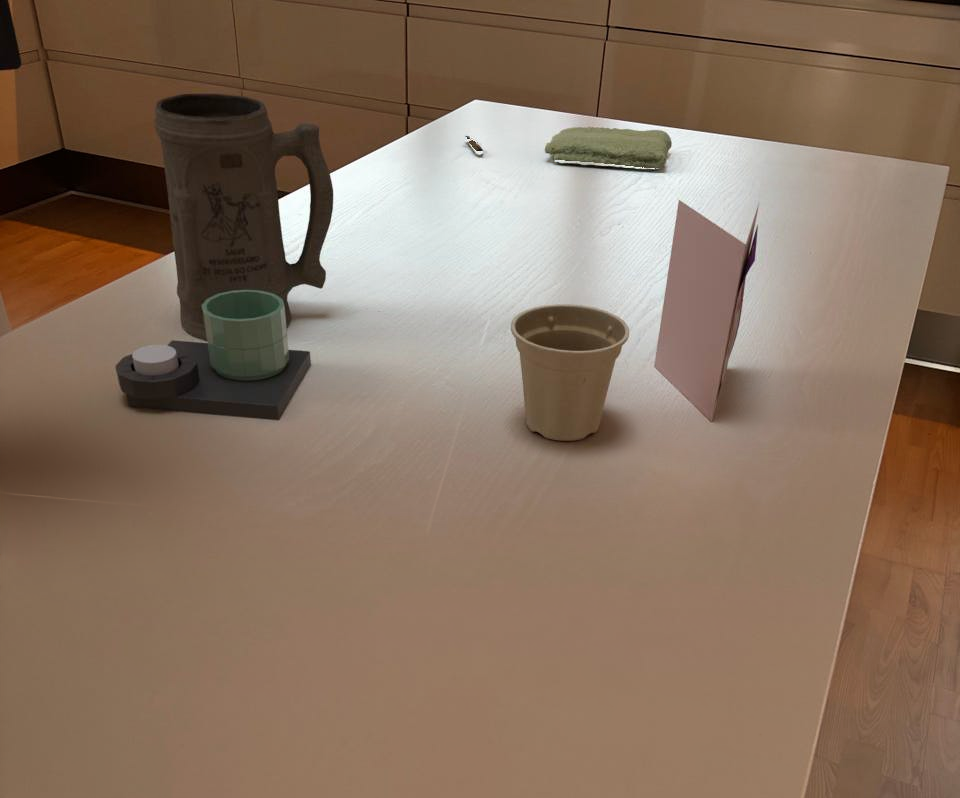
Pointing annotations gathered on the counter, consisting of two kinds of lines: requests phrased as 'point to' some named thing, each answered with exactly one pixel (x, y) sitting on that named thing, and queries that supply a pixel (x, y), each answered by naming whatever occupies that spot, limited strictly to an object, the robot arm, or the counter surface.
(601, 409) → the flower pot
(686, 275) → the greeting card
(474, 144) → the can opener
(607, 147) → the washcloth
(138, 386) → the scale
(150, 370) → the button
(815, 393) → the counter surface
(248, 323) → the cup
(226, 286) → the beer stein
